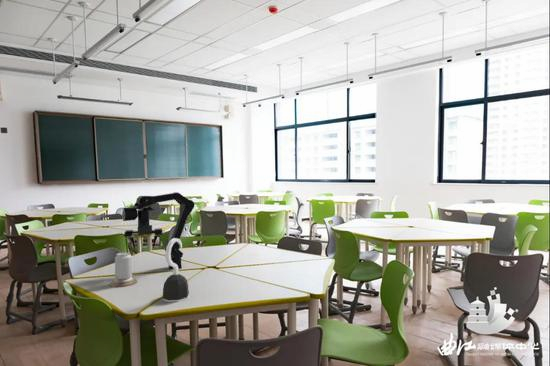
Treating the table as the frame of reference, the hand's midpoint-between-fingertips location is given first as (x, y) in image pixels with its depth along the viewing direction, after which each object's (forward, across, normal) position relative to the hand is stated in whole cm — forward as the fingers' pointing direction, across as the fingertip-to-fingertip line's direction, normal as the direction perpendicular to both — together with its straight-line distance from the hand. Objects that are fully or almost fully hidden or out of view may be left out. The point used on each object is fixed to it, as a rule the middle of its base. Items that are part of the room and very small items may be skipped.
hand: (144, 248), depth 187 cm
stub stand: (+13, -9, -16) cm, 22 cm away
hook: (+13, +14, -46) cm, 50 cm away
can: (+11, -9, -16) cm, 21 cm away
